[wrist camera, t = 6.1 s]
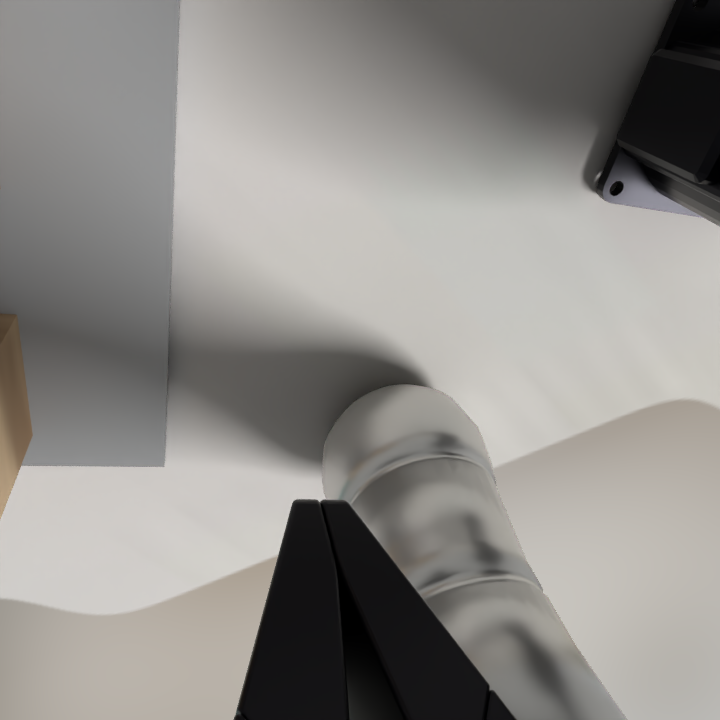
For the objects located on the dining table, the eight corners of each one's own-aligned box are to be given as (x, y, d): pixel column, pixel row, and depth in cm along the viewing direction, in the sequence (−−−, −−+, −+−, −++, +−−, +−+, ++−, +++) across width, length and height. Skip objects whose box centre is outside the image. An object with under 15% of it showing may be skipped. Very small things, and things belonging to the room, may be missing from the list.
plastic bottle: (301, 481, 25) (440, 1387, 9) (330, 354, 22) (633, 1463, 6) (436, 483, 27) (746, 1243, 11) (483, 366, 24) (1037, 1235, 8)
